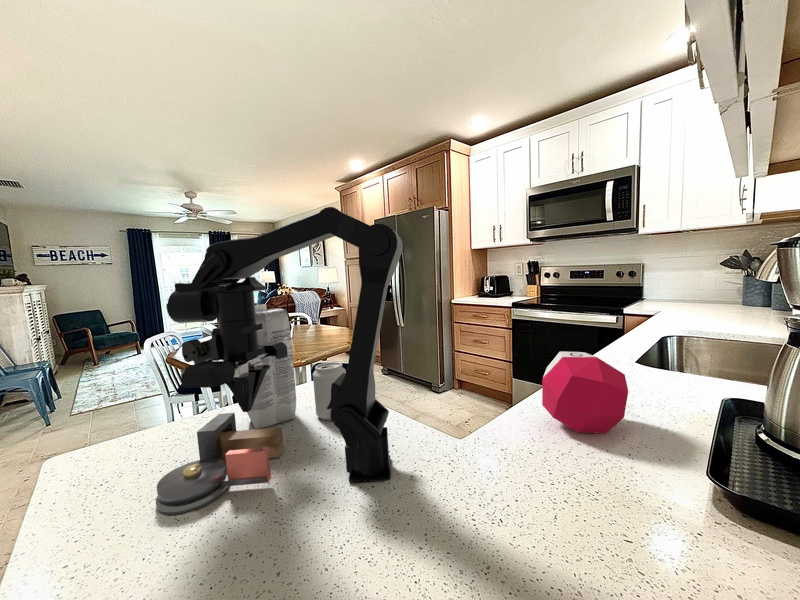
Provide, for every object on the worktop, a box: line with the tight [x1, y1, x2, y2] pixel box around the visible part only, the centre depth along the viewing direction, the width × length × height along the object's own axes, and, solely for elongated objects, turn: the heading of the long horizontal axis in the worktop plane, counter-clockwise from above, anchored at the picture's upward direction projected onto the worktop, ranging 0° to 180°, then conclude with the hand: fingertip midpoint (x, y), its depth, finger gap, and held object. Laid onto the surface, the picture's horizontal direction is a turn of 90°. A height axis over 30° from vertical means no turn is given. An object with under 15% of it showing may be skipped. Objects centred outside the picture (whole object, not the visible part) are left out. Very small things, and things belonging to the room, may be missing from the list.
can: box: [312, 361, 347, 421], centre depth 77 cm, size 8×8×12 cm
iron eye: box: [196, 412, 237, 460], centre depth 60 cm, size 3×8×7 cm, turn 2°
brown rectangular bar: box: [220, 426, 285, 463], centre depth 61 cm, size 14×4×4 cm, turn 93°
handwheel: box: [156, 447, 272, 506], centre depth 51 cm, size 16×9×5 cm, turn 93°
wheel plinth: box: [155, 474, 230, 517], centre depth 51 cm, size 10×10×1 cm
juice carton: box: [246, 303, 297, 429], centre depth 76 cm, size 9×10×27 cm
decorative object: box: [541, 351, 629, 435], centre depth 64 cm, size 15×15×15 cm
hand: (246, 411), depth 56 cm, fingers closed
